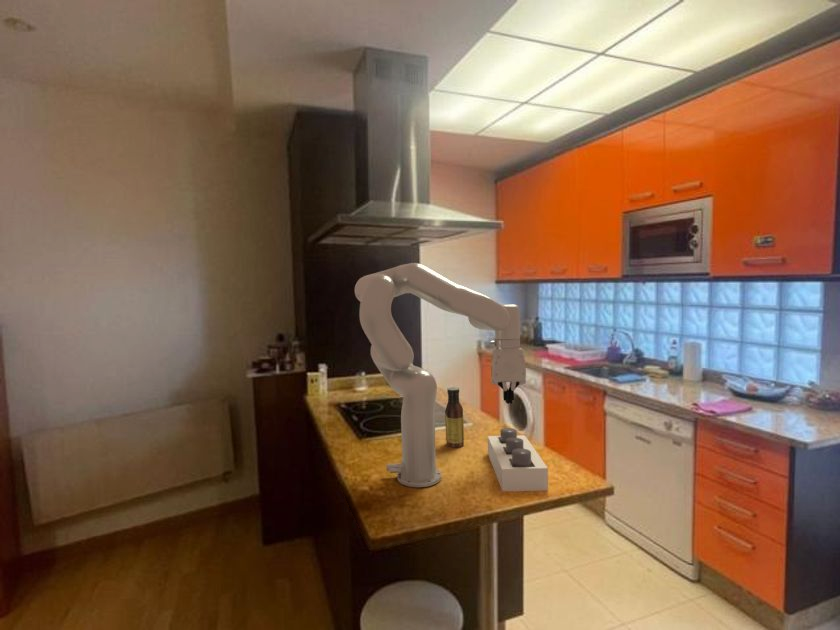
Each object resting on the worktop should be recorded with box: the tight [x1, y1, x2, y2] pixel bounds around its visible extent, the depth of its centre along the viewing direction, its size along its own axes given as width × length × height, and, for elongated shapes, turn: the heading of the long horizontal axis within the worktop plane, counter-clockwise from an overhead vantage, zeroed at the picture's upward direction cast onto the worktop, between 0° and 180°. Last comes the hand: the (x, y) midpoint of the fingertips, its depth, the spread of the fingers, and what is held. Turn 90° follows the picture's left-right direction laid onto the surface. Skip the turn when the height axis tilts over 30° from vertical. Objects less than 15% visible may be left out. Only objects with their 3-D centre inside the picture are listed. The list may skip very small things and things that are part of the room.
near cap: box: [512, 448, 531, 467], centre depth 118 cm, size 5×5×6 cm
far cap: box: [499, 427, 518, 444], centre depth 136 cm, size 5×5×6 cm
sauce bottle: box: [444, 387, 465, 448], centre depth 149 cm, size 7×6×20 cm
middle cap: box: [506, 438, 523, 455], centre depth 127 cm, size 5×5×6 cm
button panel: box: [487, 434, 549, 492], centre depth 127 cm, size 12×26×6 cm, turn 179°
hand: (508, 402), depth 135 cm, fingers closed
